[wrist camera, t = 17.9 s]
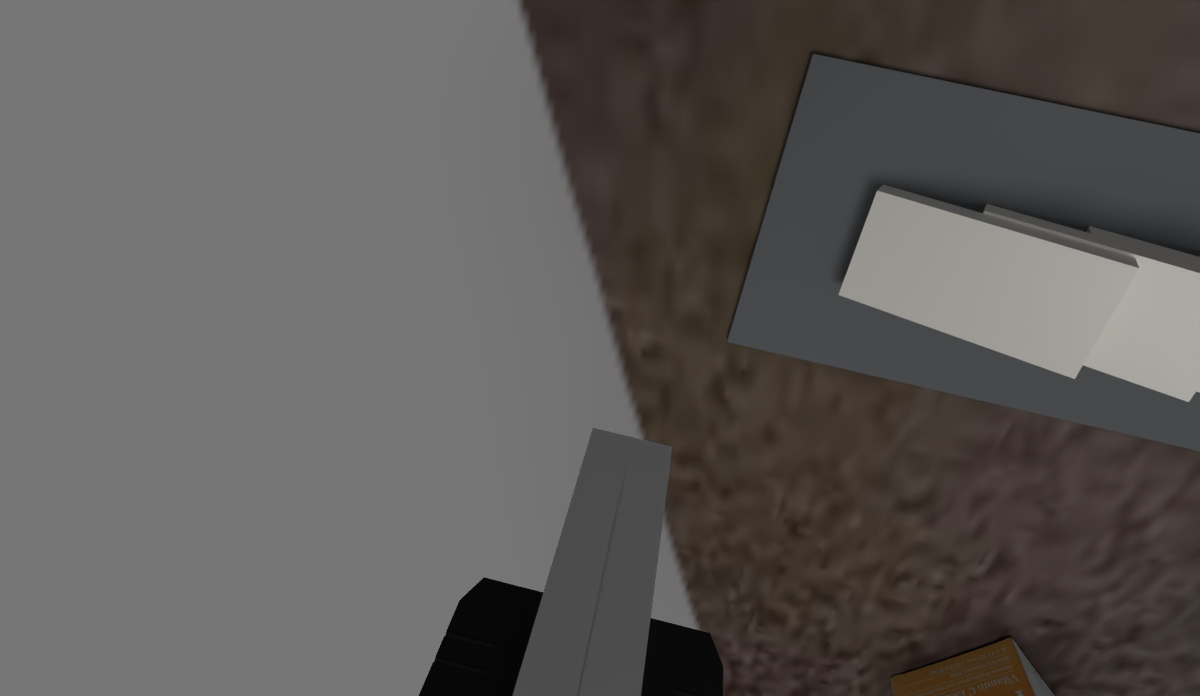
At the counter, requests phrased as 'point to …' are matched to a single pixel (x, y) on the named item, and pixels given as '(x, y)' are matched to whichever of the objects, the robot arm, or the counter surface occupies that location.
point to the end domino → (986, 279)
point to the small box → (975, 675)
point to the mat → (969, 180)
